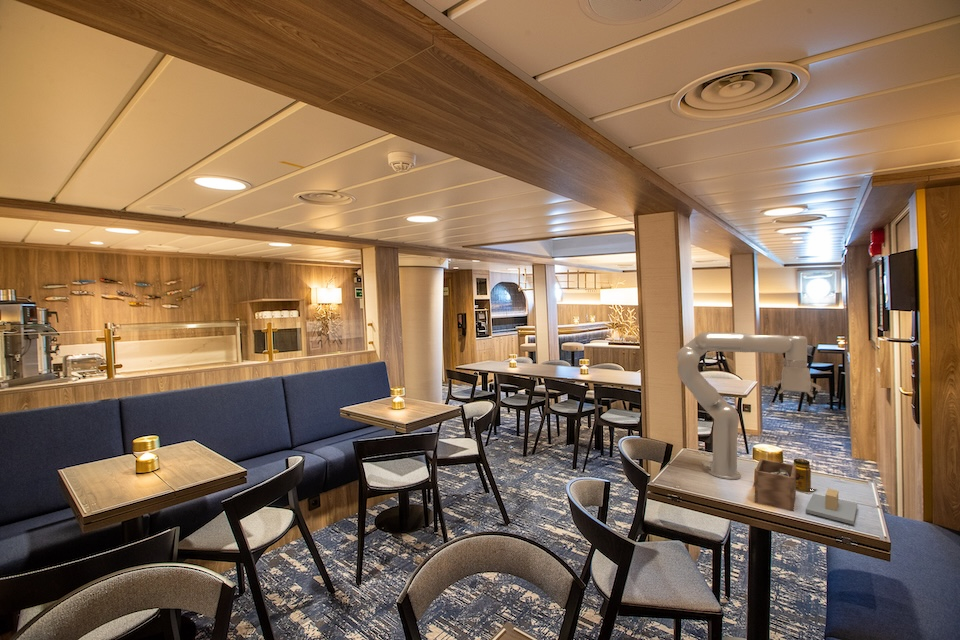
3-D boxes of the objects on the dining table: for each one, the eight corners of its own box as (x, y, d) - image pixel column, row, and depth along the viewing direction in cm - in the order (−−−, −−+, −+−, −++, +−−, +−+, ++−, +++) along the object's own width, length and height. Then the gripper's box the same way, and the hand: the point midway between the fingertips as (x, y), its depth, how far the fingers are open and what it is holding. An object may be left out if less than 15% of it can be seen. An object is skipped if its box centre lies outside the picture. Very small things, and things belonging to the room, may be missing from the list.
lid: (805, 515, 154) (805, 495, 154) (813, 499, 168) (813, 480, 168) (853, 527, 145) (853, 506, 145) (857, 509, 159) (857, 490, 159)
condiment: (788, 488, 178) (788, 459, 178) (796, 484, 182) (797, 455, 182) (809, 494, 172) (809, 464, 171) (817, 490, 176) (818, 460, 176)
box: (754, 502, 164) (754, 470, 164) (759, 487, 178) (760, 458, 178) (793, 511, 156) (793, 478, 156) (795, 495, 170) (796, 465, 170)
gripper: (771, 363, 187) (770, 403, 187) (821, 366, 176) (821, 408, 177) (772, 362, 193) (772, 400, 193) (821, 365, 182) (821, 405, 182)
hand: (795, 404), depth 185 cm, fingers open, 9 cm apart
